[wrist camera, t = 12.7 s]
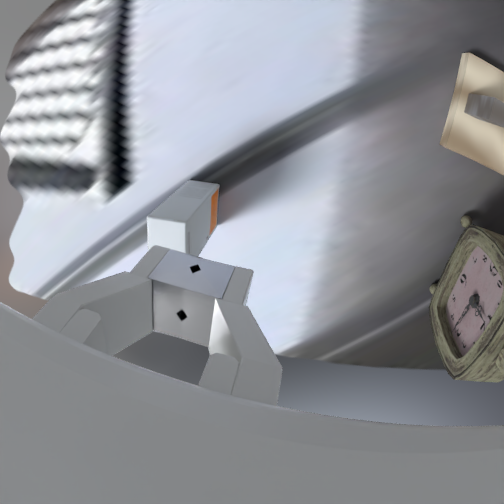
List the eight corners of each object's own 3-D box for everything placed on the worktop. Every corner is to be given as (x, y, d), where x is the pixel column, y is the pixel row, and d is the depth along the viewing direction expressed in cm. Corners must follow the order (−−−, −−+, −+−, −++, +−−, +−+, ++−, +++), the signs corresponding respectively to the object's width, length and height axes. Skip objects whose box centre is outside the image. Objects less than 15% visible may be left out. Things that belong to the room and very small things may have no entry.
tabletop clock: (458, 201, 34) (568, 339, 13) (506, 220, 33) (609, 345, 12) (417, 293, 41) (463, 450, 20) (464, 304, 41) (519, 444, 19)
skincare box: (218, 226, 42) (186, 278, 32) (187, 221, 42) (148, 270, 32) (221, 182, 39) (186, 222, 28) (188, 178, 39) (144, 215, 29)
